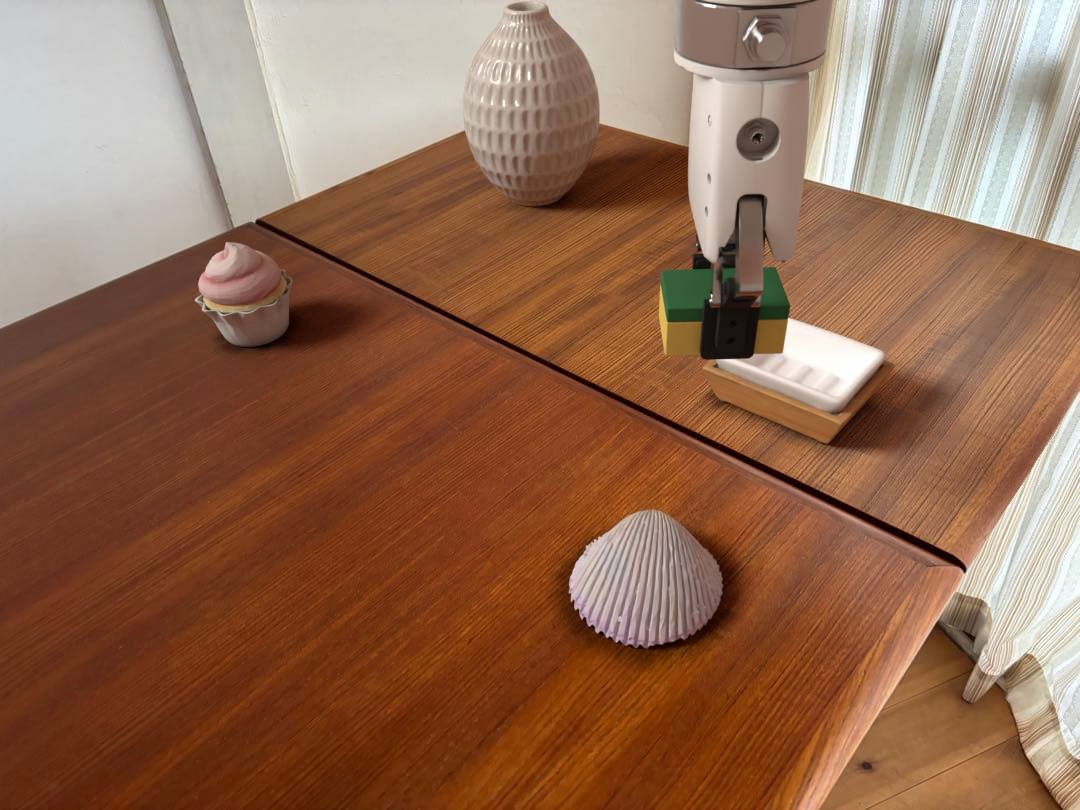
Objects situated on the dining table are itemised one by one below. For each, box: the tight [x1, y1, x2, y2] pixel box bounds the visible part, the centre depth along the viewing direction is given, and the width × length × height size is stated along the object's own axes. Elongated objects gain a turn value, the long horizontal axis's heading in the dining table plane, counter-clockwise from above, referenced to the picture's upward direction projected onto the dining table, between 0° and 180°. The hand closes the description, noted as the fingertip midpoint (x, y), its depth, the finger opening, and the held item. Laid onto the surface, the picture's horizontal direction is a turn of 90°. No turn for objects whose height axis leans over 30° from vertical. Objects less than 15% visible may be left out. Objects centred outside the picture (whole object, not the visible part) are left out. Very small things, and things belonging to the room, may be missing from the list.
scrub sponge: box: [658, 266, 791, 357], centre depth 53 cm, size 7×5×4 cm, turn 88°
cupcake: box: [194, 241, 293, 348], centre depth 82 cm, size 9×9×10 cm
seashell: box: [568, 509, 724, 649], centre depth 57 cm, size 10×6×10 cm
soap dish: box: [702, 316, 896, 445], centre depth 71 cm, size 12×10×5 cm
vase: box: [462, 0, 601, 207], centre depth 100 cm, size 16×16×22 cm
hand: (720, 329), depth 54 cm, fingers closed on scrub sponge, 4 cm apart
